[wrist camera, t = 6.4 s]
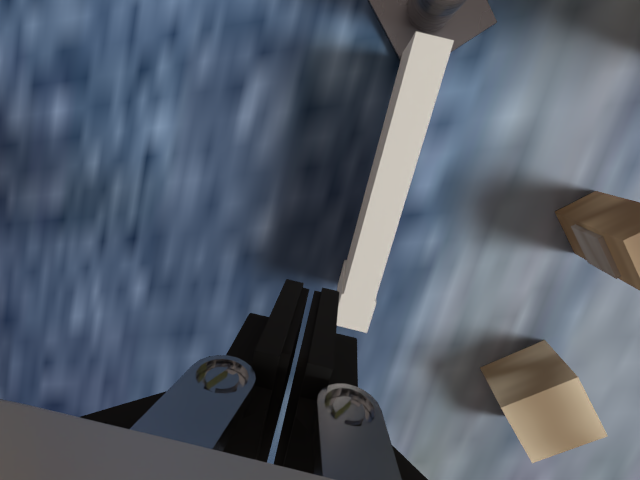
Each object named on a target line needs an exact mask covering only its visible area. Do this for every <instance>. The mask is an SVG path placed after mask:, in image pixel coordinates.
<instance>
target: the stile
mask: <svg viewBox="0 0 640 480" xmlns="http://www.w3.org/2000/svg"><path fill="white" fill-rule="evenodd" d="M555 214H556V216H557V218H558V220H559V222H560V224H561V226H562V228H563V230H564V232H565V234H566V236H567V238H568V241H569V243H570V245H571V247H572V249H573V251H574V253H575V254H577V255H578V256H580V257H582V258H584V259H585V260H587V262H588V263H590V264H592V265H593V266H595V267H597V268H598V269H600V270H602V271H604V272H605V273H607V274H609V275H611V276H612V277H614V278H616V279H617V278H619V279H620V280H622V281H624V282H626V283H627V284H629V285H631V286H633V287H634V288H636V289H638V290H640V203H639V202H636V201H632V200H628V199H624V198H620V197H617V196H613V195H609V194H605V193H601V192H598V191H594V192H592V193H590V194H588V195H587V196H585V197H583V198H581V199H579V200H577V201H575V202H573V203H571V204H569V205H567V206H565V207H563V208H561V209H559V210H557V211H555Z"/></svg>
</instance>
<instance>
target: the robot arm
mask: <svg viewBox="0 0 640 480" xmlns="http://www.w3.org/2000/svg"><path fill="white" fill-rule="evenodd" d="M303 284H304V283H301V282H297V281H292V280H288V279H286V281H285V284H284V286H283V288H282V290H281V292H280V295H279V297H278V299H277V301H276V304H275V306H274V308H273V310H272V313H271V315H270V317H266V316H261V315H257V314H253V313H250V314H249V315H248V317H247V319H246V321H245V323H244V324H243V326H242V328H241V330H240V331H239V333H238V335H237V337H236V338H235V340H234V342H233V344H232V346H231V347H230V349H229V351H228V353H227V354H226V355H215V356H208V357H206V358H203V359H200V360H199V361H197V362H196V363H195V364H193V365H192V366H191V367H190V368H189V369H188V370H187V371H186V372H185V373H184V374H183V375H182V376H181V377H180V378H179V379H178V380H177V381H176V382H175V383H174V385H173V386H172V387H171V388H170V389H169V390H168V391H166V392H163V393H159V394H156V395H152V396H149V397H146V398H142V399H139V400H136V401H132V402H129V403H125V404H122V405H119V406H115V407H112V408H108V409H105V410H102V411H98V412H95V413H91V414H88V415H85V416H81V417H76V416H72V415H68V414H63V413H59V412H55V411H51V410H47V409H43V408H38V407H34V406H30V405H26V404H22V403H17V402H12V401H7V400H2V399H0V480H428V479H427V478H426V477H425V476H423V475H422V474H421V473H420V472H419V471H418V470H417V469H416V468H415V467H414V466H413V465H412V464H411V463H410V462H409V461H408V460H407V459H406V458H405V457H404V456H403V455H402V454H401V453H400V452H399V451H397V450H396V449H395V448H394V447H393V446H392V445H391V441H390V438H389V434H388V431H387V427H386V424H385V421H384V417H383V414H382V410H381V408H380V406H379V404H378V402H377V401H376V400H375V399H374V398H373V397H372V396H371V395H370V394H368V393H367V392H366V391H364V390H362V389H360V388H358V376H357V339H356V338H353V337H349V336H345V335H341V334H337V333H336V327H337V315H338V303H339V291H335V290H330V289H326V288H322V291H321V292H319V291H314V295H313V300H312V304H311V308H310V312H309V316H308V320H307V324H306V329H305V333H304V337H303V341H302V345H301V349H300V354H299V358H298V362H297V366H296V370H295V375H294V379H293V383H292V388H291V392H290V396H289V401H288V405H287V409H286V413H285V418H284V422H283V426H282V431H281V435H280V439H279V443H278V448H277V452H276V456H275V461H274V464H270V463H267V459H268V456H269V452H270V448H271V444H272V440H273V436H274V433H275V429H276V425H277V421H278V417H279V413H280V410H281V406H282V402H283V398H284V394H285V390H286V386H287V383H288V379H289V375H290V371H291V367H292V363H293V358H294V354H295V349H296V345H297V341H298V336H299V332H300V328H301V323H302V319H303V314H304V310H305V306H306V301H307V297H308V292H309V289H306V288H303Z"/></svg>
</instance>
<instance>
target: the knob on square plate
mask: <svg viewBox="0 0 640 480" xmlns="http://www.w3.org/2000/svg"><path fill="white" fill-rule="evenodd" d="M368 2H369V4H370V5H371V7H372V9H373V11H374V13H375V15H376V17H377V19H378V21H379V22H380V24H381V26H382V28H383V30H384V32H385V34H386V36H387V38H388V40H389V41H390V43H391V45H392V47H393V49H394V51H395V53H396V55H397V57H398V58H399V60H400V61H401V57H402V54H403V51H404V50H405V48H406V47H407V45H408V43H409V42H410V40H411V39H412V37H413V35H414V34H415V32H416V31H417V32H421V33H425V34H429V35H433V36H438V37H442V38H446V39H450V40H454V42H453V46H452V49H451V52H452V51H453V50H455V49H457V48H458V47H460V46H461V45H463V44H464V43H466V42H467V41H469V40H470V39H472V38H474V37H475V36H477V35H478V34H480V33H481V32H483V31H484V30H486V29H487V28H489V27H491V26H492V25H494V24H495V23H496V22H497V21H496V19H495V17H494V14H493V12H492V10H491V8H490V6H489V4H488V1H487V0H368Z"/></svg>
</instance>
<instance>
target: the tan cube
mask: <svg viewBox="0 0 640 480" xmlns="http://www.w3.org/2000/svg"><path fill="white" fill-rule="evenodd" d="M480 369H481V371H482V373H483V374H484V376H485V378H486V380H487V382H488V384H489V386H490V388H491V390H492V392H493V394H494V396H495V397H496V399H497V401H498V403H499V405H500V407H501V409H502V411H503V412H504V414H505V416H506V418H507V419H508V421H509V423H510V425H511V426H512V428H513V430H514V432H515V433H516V435H517V437H518V439H519V441H520V442H521V444H522V446H523V448H524V449H525V451H526V453H527V455H528V456H529V458H530V460H531V462H532V463H534V462H537V461H540V460H542V459H545V458H548V457H551V456H554V455H556V454H559V453H562V452H565V451H568V450H570V449H573V448H576V447H579V446H582V445H584V444H587V443H590V442H593V441H595V440H598V439H601V438H604V437H607V434H606V432H605V430H604V428H603V426H602V424H601V422H600V420H599V418H598V416H597V414H596V412H595V410H594V408H593V406H592V404H591V402H590V400H589V398H588V396H587V394H586V392H585V390H584V388H583V386H582V384H581V382H580V380H579V378H578V377H577V375H576V374H575V373H574V372H573V371H572V370H571V369H570V368H569V367H568V365H567V364H566V363H565V362H564V361H563V360H562V359H561V358H560V357H559V355H558V354H557V353H556V352H555V351H554V350H553V349H552V348H551V346H550V345H549V344H548V343H547V342H546V341H545V340H544V341H541V342H539V343H537V344H534V345H532V346H529V347H527V348H525V349H522V350H520V351H518V352H515V353H513V354H511V355H508V356H506V357H504V358H501V359H499V360H497V361H494V362H492V363H490V364H487V365H485V366H483V367H480Z"/></svg>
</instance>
